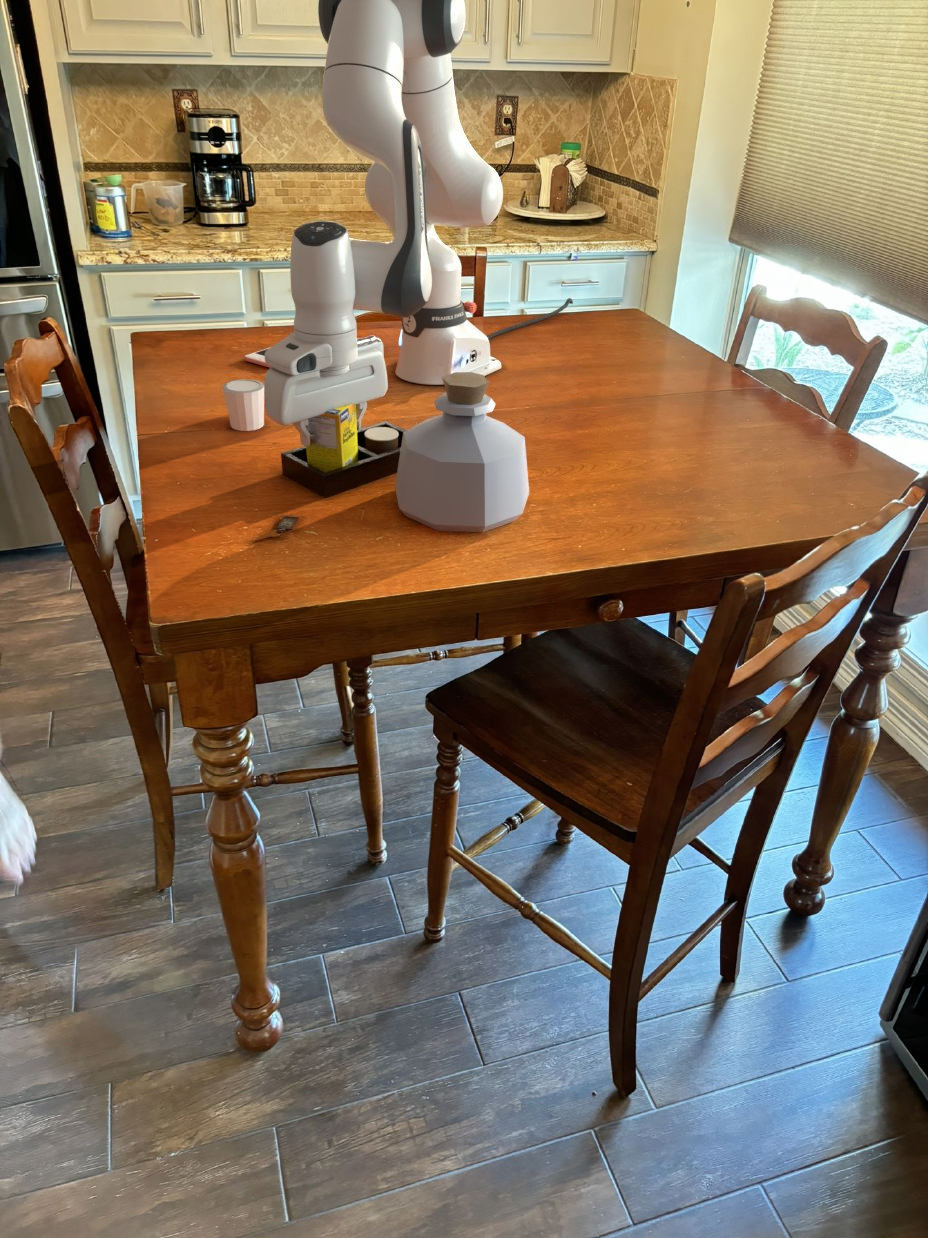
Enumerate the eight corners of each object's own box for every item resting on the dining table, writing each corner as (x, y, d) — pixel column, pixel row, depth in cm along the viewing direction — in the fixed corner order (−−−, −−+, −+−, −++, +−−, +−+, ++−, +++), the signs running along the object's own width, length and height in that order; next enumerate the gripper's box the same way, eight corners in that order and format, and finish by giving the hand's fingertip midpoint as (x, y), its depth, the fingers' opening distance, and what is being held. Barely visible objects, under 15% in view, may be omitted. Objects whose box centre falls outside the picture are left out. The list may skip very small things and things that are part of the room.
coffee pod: (384, 449, 150) (383, 424, 148) (405, 459, 147) (405, 434, 145) (358, 458, 147) (357, 432, 144) (379, 468, 144) (379, 442, 141)
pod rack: (386, 440, 153) (385, 420, 152) (430, 460, 147) (430, 440, 145) (282, 474, 141) (280, 452, 139) (325, 497, 135) (324, 476, 133)
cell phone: (243, 360, 185) (243, 355, 185) (304, 340, 198) (304, 335, 197) (275, 369, 181) (274, 364, 181) (335, 348, 194) (335, 344, 193)
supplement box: (359, 467, 143) (356, 400, 137) (342, 483, 138) (339, 414, 132) (324, 461, 144) (320, 394, 138) (307, 476, 140) (302, 408, 133)
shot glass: (258, 434, 154) (254, 394, 150) (220, 429, 155) (215, 389, 151) (273, 419, 159) (270, 380, 156) (236, 415, 160) (232, 376, 157)
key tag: (285, 515, 129) (285, 511, 129) (304, 519, 128) (304, 515, 128) (254, 540, 123) (254, 536, 122) (274, 545, 122) (273, 541, 122)
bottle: (470, 465, 146) (475, 347, 136) (554, 510, 134) (567, 385, 123) (366, 496, 135) (363, 371, 125) (447, 549, 123) (450, 415, 112)
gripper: (368, 327, 138) (371, 414, 146) (254, 354, 126) (263, 447, 134) (396, 337, 134) (397, 426, 142) (280, 366, 122) (288, 461, 130)
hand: (331, 437), depth 138 cm, fingers closed on supplement box, 7 cm apart
